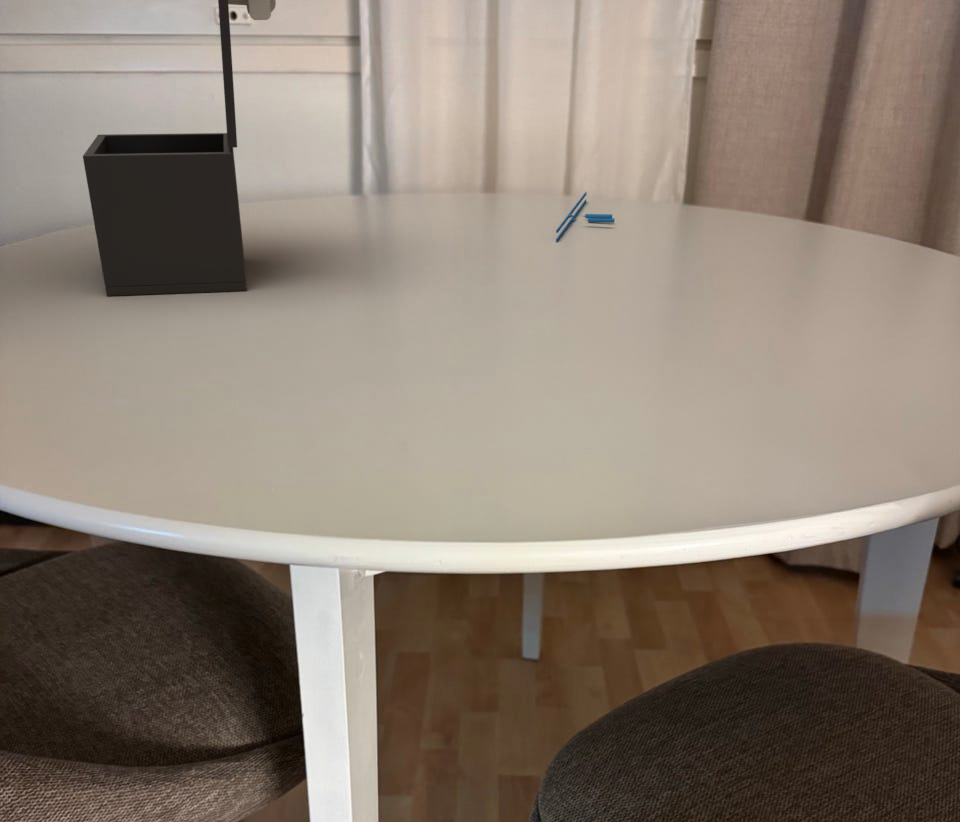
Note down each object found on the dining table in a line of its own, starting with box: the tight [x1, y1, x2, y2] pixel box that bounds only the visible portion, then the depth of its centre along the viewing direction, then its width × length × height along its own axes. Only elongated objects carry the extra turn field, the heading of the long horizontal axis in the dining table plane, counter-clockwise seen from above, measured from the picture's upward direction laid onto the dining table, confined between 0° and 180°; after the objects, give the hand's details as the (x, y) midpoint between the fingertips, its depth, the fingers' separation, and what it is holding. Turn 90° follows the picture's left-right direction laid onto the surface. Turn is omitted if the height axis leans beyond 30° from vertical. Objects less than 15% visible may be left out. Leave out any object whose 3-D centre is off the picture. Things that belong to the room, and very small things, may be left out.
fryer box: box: [82, 132, 248, 297], centre depth 100 cm, size 13×14×12 cm
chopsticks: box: [555, 191, 615, 242], centre depth 128 cm, size 1×25×5 cm
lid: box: [217, 0, 277, 149], centre depth 95 cm, size 14×14×5 cm
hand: (259, 17), depth 94 cm, fingers closed on lid, 6 cm apart
